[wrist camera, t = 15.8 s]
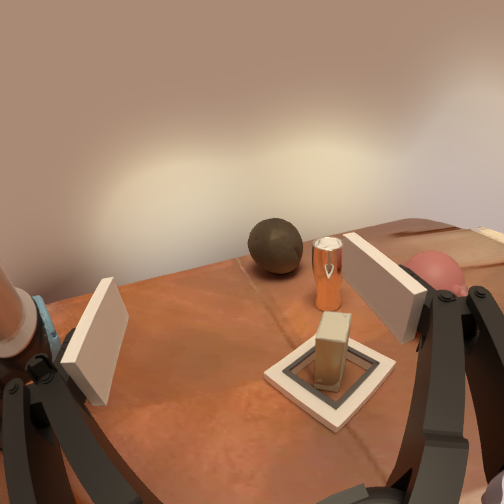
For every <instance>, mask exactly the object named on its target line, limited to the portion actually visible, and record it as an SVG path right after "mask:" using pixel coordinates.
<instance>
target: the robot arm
mask: <svg viewBox="0 0 504 504" xmlns="http://www.w3.org/2000/svg"><path fill="white" fill-rule="evenodd" d="M342 277H343V278H344V279H345V280H346V281H347V282H348V283H349V285H350V286H351V287H352V288H353V289H354V290H355V291H356V292H357V293H358V295H359V296H360V297H361V298H362V299H363V300H364V301H365V303H366V304H367V305H368V306H369V307H370V308H371V309H372V311H373V312H374V313H375V314H376V315H377V316H378V318H379V319H380V320H381V321H382V322H383V323H384V325H385V326H386V327H387V328H388V329H389V330H390V332H391V333H392V334H393V335H394V336H395V338H396V339H397V340H398V341H399V342H400V344H401V345H402V344H405V343H407V342H409V341H412V340H414V338H415V335H416V331H417V330H418V331H419V332H420V333H421V334H422V335H421V338H420V341H419V344H418V347H417V350H416V352H418V351H419V353H418V362H417V370H416V377H415V384H414V390H413V395H412V401H411V406H410V411H409V416H408V420H407V425H406V429H405V433H404V437H403V441H402V445H401V448H400V452H399V455H398V459H397V462H396V465H395V467H394V469H393V471H392V473H391V475H390V477H389V479H388V481H387V483H386V486H385V487H368V488H365V486H364V484H360V485H358V486H355V487H353V488H350V489H347V490H345V491H342V492H339V493H336V494H333V495H331V496H329V497H327V498H325V499H324V500H322V501H320V502H318V503H317V504H459V500H460V496H461V491H462V487H463V482H464V477H465V471H466V465H467V459H468V451H469V442H468V439H465V438H463V424H464V409H465V372H466V376H467V379H468V383H469V387H470V391H471V395H472V399H473V404H474V408H475V413H476V418H477V424H478V429H479V435H480V442H481V450H482V458H483V465H484V472H485V476H486V480H487V483H488V486H487V489H486V492H485V493H484V494H483V495H482V497H481V502H482V504H504V315H503V313H502V311H501V310H500V308H499V306H498V304H497V303H496V301H495V300H494V298H493V296H492V295H491V293H490V292H489V291H488V290H487V289H485V288H484V287H482V286H472V287H471V288H469V291H468V295H467V296H463V297H457V296H456V295H455V294H454V293H453V292H451V291H448V290H436V289H434V288H433V287H432V286H431V285H429V284H428V283H427V282H426V281H425V280H423V279H422V278H420V276H418V275H417V274H415V273H414V272H413V271H412V270H411V269H409V268H407V267H405V266H402V265H396V264H395V263H394V262H393V261H391V260H390V259H389V258H388V257H386V256H385V255H384V254H382V253H381V252H380V251H378V250H377V249H376V248H375V247H373V246H372V245H371V244H369V243H368V242H367V241H365V240H364V239H362V238H361V237H360V236H358V235H357V234H356V233H348V234H343V254H342ZM128 319H129V315H128V312H127V310H126V308H125V305H124V303H123V300H122V298H121V295H120V293H119V290H118V288H117V285H116V282H115V280H114V277H111V278H105V279H102V280H101V282H100V284H99V285H98V287H97V289H96V291H95V293H94V294H93V296H92V298H91V300H90V302H89V304H88V306H87V308H86V309H85V311H84V313H83V315H82V317H81V319H80V321H79V323H78V325H77V327H76V328H73V329H72V330H71V331H70V332H69V333H68V334H67V335H66V337H65V339H64V341H63V344H62V343H61V341H60V338H59V336H58V334H57V332H56V330H55V327H54V325H53V322H52V320H51V318H50V315H49V313H48V310H47V308H46V306H45V303H44V301H43V299H42V298H41V297H40V296H33V297H30V296H29V295H28V293H26V292H25V291H24V290H22V289H19V288H16V287H14V286H13V284H12V282H11V280H10V279H9V277H8V275H7V273H6V271H5V270H4V268H3V265H2V263H1V261H0V451H1V452H2V453H3V455H4V466H5V475H6V482H7V489H8V494H9V500H10V504H76V502H75V499H74V496H73V493H72V490H71V487H70V483H69V480H68V477H67V473H66V469H65V466H64V462H63V458H62V454H61V449H60V446H61V448H62V450H63V452H64V454H65V456H66V457H67V459H68V461H69V463H70V465H71V467H72V468H73V470H74V472H75V474H76V475H77V477H78V479H79V480H80V482H81V484H82V485H83V487H84V489H85V490H86V492H87V493H88V495H89V496H90V498H91V499H92V501H93V502H94V504H163V503H162V502H161V501H160V500H159V499H158V498H157V497H156V496H155V495H154V494H153V493H152V492H151V491H150V490H149V489H148V488H147V487H146V486H145V484H144V483H143V482H142V481H141V480H140V479H139V478H138V477H137V475H136V474H135V473H134V472H133V471H132V470H131V468H130V467H129V466H128V465H127V463H126V462H125V461H124V460H123V458H122V457H121V456H120V455H119V453H118V452H117V451H116V449H115V448H114V447H113V445H112V444H111V443H110V441H109V440H108V439H107V437H106V436H105V434H104V433H103V431H102V430H101V428H100V427H99V425H98V424H97V422H96V421H95V419H94V418H93V416H92V415H91V413H90V412H89V410H88V408H87V407H86V406H85V405H84V403H85V400H86V398H87V400H88V401H89V402H90V403H91V405H92V406H107V402H108V397H109V392H110V388H111V383H112V379H113V375H114V371H115V367H116V363H117V359H118V355H119V351H120V347H121V344H122V340H123V337H124V333H125V330H126V326H127V323H128ZM30 381H33V382H34V383H32V384H29V385H25V384H27V383H28V382H30ZM59 444H60V445H59Z"/></svg>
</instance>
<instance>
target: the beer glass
mask: <svg viewBox="0 0 504 504" xmlns="http://www.w3.org/2000/svg"><path fill="white" fill-rule="evenodd" d="M312 245H313V247H312V268H313V274H314V279H315V283H316V290H317V294H316V299H315V306H316V307H317V308H318V309H319V310H321V311H335V310H337V309H338V308H340V306H341V297H340V288H341V283H342V279H343V277H342V254H343V240H342V239H340V238H336V237H321V238H318V239H316V240H314V241H313V243H312Z"/></svg>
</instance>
